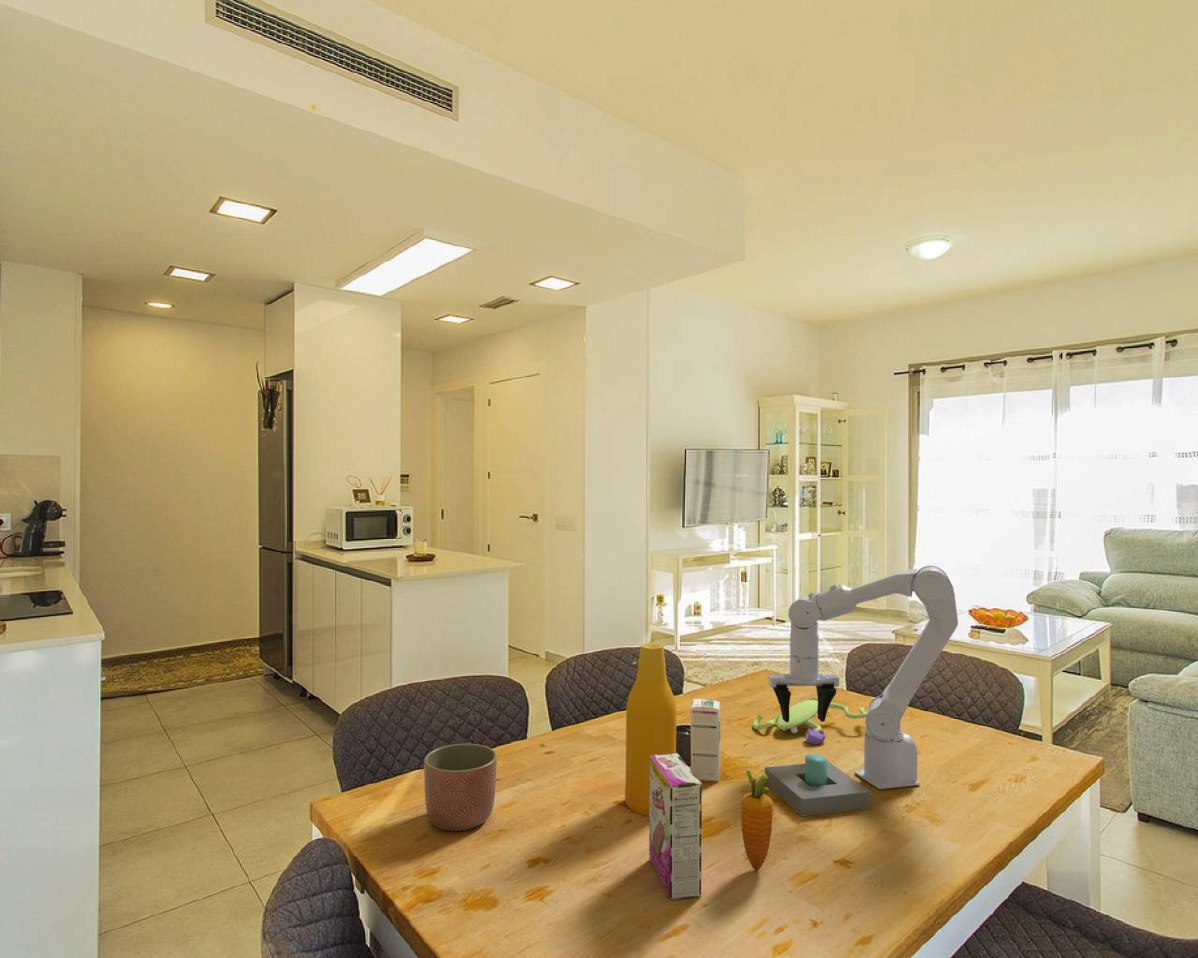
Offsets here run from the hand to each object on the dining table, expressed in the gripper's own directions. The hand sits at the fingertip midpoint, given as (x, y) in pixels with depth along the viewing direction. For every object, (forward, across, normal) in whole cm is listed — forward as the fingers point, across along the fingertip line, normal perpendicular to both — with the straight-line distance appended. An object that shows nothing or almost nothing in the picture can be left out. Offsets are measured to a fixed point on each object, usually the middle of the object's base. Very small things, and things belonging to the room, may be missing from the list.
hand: (803, 720), depth 144 cm
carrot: (+10, -22, -38) cm, 45 cm away
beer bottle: (+10, -35, -16) cm, 40 cm away
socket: (+9, -3, -14) cm, 17 cm away
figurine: (+10, +11, +23) cm, 27 cm away
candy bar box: (+10, -35, -40) cm, 54 cm away
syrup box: (+10, -22, -4) cm, 24 cm away
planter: (+10, -69, -20) cm, 72 cm away
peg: (+9, -3, -14) cm, 17 cm away
